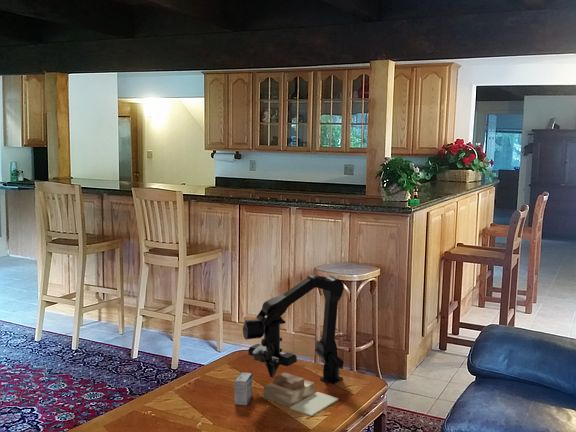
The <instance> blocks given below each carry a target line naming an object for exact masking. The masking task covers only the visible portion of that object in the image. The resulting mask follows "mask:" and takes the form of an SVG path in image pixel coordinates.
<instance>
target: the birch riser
mask: <svg viewBox="0 0 576 432" xmlns="http://www.w3.org/2000/svg"><path fill="white" fill-rule="evenodd" d="M313 394H315V382H313V381H311V380H307V379H304V386H302V387H300V388H298V389H297V390H295V391H293V390H290V389H287V388H284V387H281V386H278V385H275V384H274V381H273V382H270V383H269V384H267V385H264V386H263V399H267V400H269V401H272V402H275V403H278V404H281V405H284V406H286V407H289V408H290V407H292V406H293V405H295V404H297V403H299V402H300V401H302V400H304V399H306V398H308V397H309V396H311V395H313Z"/></svg>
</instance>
